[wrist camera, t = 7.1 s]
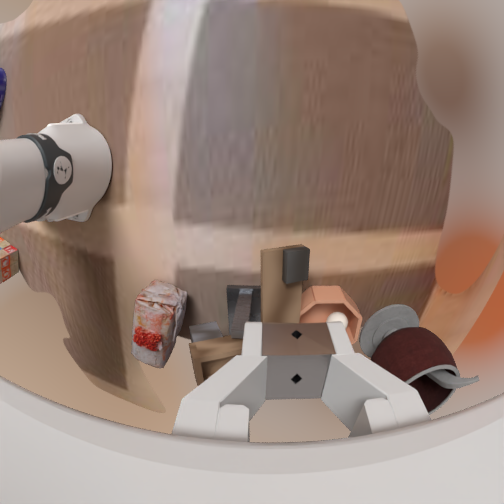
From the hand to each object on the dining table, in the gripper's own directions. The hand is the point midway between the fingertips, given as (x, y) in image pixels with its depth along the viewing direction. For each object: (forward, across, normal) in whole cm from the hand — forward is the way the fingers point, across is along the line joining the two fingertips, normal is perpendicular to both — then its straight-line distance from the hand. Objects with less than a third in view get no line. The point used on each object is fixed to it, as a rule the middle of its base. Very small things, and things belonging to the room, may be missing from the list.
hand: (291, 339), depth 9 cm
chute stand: (+32, +3, +20) cm, 38 cm away
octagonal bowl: (+32, -9, +20) cm, 39 cm away
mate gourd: (+32, -24, +24) cm, 46 cm away
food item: (+33, +18, +21) cm, 43 cm away
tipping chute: (+28, +5, +15) cm, 32 cm away
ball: (+30, -11, +20) cm, 38 cm away
